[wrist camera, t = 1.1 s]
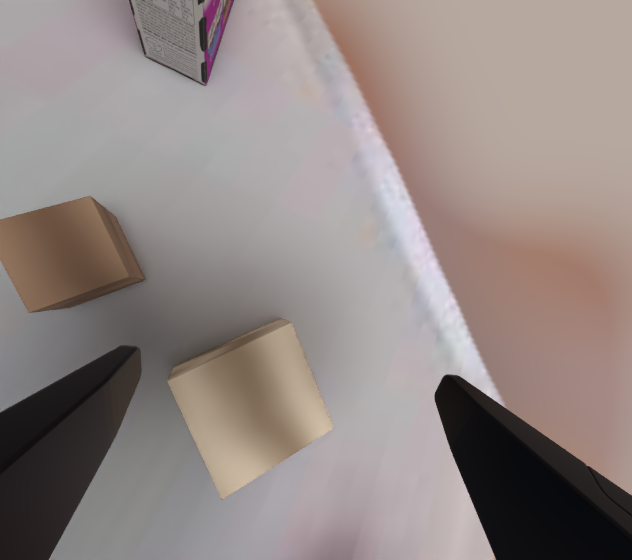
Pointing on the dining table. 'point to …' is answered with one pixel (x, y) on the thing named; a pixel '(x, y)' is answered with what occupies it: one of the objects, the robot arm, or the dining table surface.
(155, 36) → the candy bar box
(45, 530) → the robot arm
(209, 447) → the maple base block
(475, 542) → the dining table surface
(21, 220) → the walnut cube
